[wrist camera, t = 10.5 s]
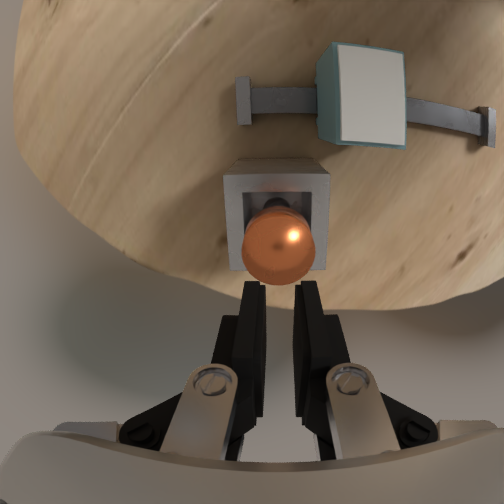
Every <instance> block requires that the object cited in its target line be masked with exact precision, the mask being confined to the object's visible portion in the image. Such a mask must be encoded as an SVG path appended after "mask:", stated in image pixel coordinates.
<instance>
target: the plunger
mask: <svg viewBox="0 0 504 504" xmlns="http://www.w3.org/2000/svg"><path fill="white" fill-rule="evenodd" d="M241 255H242V260H243V263H244V265H245V267H246V269H247V270H248V272H249V273H250V274H251V275H252V276H253V277H255V278H256V279H257V280H259V281H261V282H263V283H266V284H270V285H286V284H290V283H293V282H295V281H297V280H299V279H301V278H302V277H303V276H304V275H305V274H306V273H307V272H308V271H309V270H310V268H311V267H312V265H313V262H314V259H315V244H314V240H313V237H312V234H311V231H310V228H309V225H308V223H307V221H306V220H305V218H304V217H303V216H302V215H301V214H300V213H298V212H297V211H295V210H293V209H291V207H290V204H289V203H288V201H287V200H285V199H284V198H281V197H273V198H270V199H269V200H267V201H266V203H265V204H264V207H263V210H261V211H259V212H258V213H257V214H255V215H254V216H253V217H252V219H251V220H250V221H249V223H248V225H247V228H246V231H245V235H244V239H243V243H242V249H241Z"/></svg>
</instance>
